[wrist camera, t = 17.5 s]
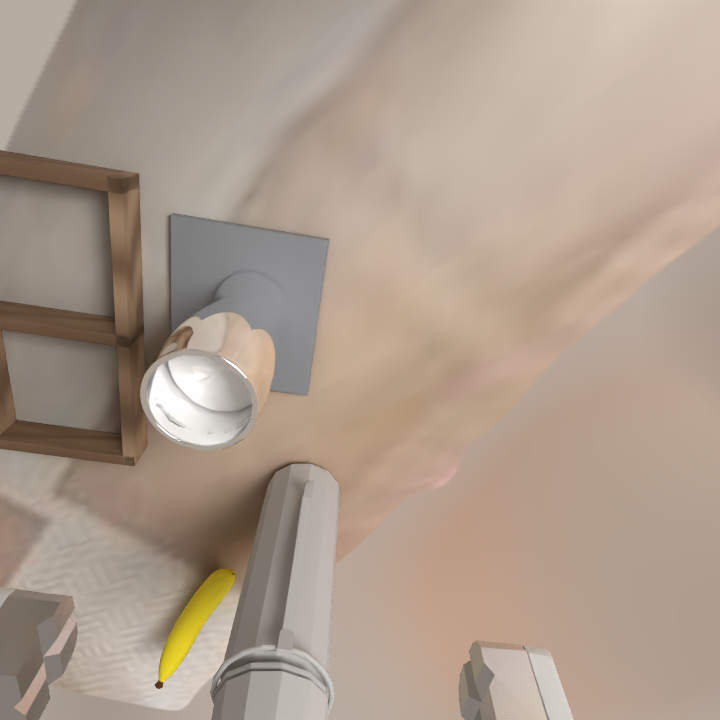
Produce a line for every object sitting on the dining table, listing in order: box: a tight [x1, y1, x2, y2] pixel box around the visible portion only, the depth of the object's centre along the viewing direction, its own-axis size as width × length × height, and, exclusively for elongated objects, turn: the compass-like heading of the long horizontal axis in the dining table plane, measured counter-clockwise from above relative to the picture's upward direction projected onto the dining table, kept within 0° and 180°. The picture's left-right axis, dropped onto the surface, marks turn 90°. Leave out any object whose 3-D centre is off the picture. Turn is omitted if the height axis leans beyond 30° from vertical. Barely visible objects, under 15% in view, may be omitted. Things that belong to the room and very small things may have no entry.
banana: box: [155, 569, 235, 689], centre depth 55 cm, size 3×19×6 cm, turn 149°
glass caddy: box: [0, 150, 147, 466], centre depth 42 cm, size 25×13×3 cm, turn 171°
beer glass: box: [140, 272, 289, 451], centre depth 35 cm, size 7×7×15 cm
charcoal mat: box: [171, 213, 329, 395], centre depth 42 cm, size 14×12×1 cm
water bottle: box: [210, 463, 339, 720], centre depth 40 cm, size 9×8×25 cm
